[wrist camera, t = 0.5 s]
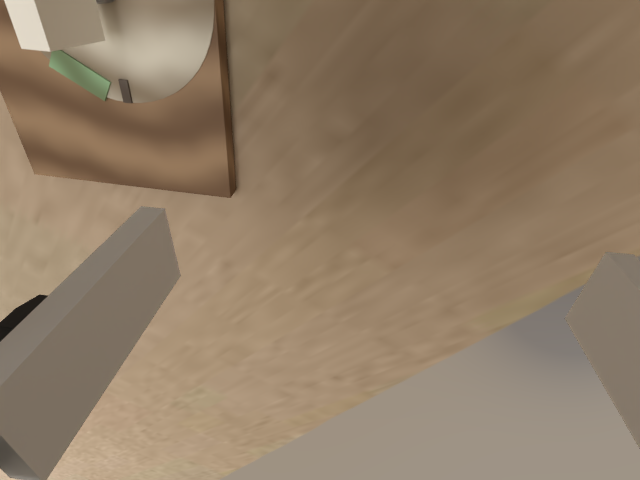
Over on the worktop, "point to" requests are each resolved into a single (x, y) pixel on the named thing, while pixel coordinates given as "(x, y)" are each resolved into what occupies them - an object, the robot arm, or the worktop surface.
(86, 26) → the beige block with bar
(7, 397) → the robot arm
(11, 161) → the worktop surface
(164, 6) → the tuner board
